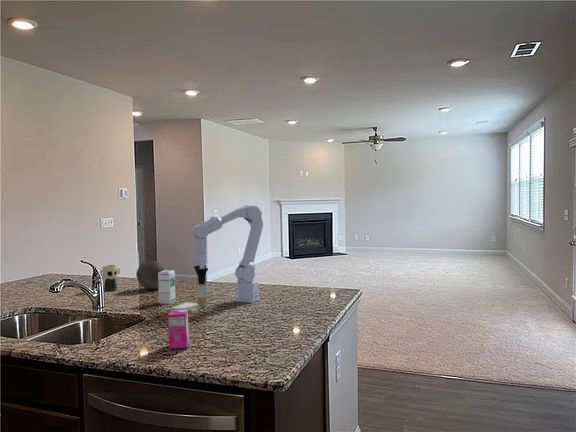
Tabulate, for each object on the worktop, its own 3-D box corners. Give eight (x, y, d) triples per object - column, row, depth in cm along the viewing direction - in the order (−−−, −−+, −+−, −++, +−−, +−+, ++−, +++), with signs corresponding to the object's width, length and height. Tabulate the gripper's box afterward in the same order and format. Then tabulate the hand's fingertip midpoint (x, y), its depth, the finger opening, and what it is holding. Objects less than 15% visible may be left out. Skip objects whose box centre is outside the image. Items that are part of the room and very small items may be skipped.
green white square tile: (206, 305, 200) (206, 303, 200) (192, 311, 189) (192, 309, 189) (185, 303, 204) (185, 302, 204) (170, 309, 193) (170, 307, 193)
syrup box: (170, 303, 203) (169, 272, 203) (158, 303, 205) (157, 271, 204) (176, 301, 209) (175, 270, 208) (164, 300, 210) (163, 269, 209)
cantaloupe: (144, 286, 244) (144, 259, 243) (169, 287, 242) (168, 259, 241) (132, 292, 230) (131, 263, 229) (158, 292, 228) (157, 263, 227)
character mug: (104, 293, 229) (103, 267, 229) (97, 291, 234) (96, 266, 234) (123, 289, 238) (122, 265, 237) (116, 287, 242) (116, 263, 242)
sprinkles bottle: (203, 301, 201) (203, 272, 200) (209, 303, 198) (209, 273, 197) (195, 303, 198) (194, 273, 197) (200, 305, 195) (200, 274, 194)
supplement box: (171, 344, 147) (170, 309, 147) (189, 343, 148) (188, 309, 147) (168, 350, 142) (167, 314, 141) (187, 349, 142) (186, 313, 142)
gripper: (190, 250, 203) (190, 280, 203) (192, 254, 189) (193, 286, 189) (205, 249, 204) (206, 279, 205) (209, 253, 191) (210, 285, 191)
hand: (201, 282), depth 197 cm, fingers closed on sprinkles bottle, 4 cm apart
